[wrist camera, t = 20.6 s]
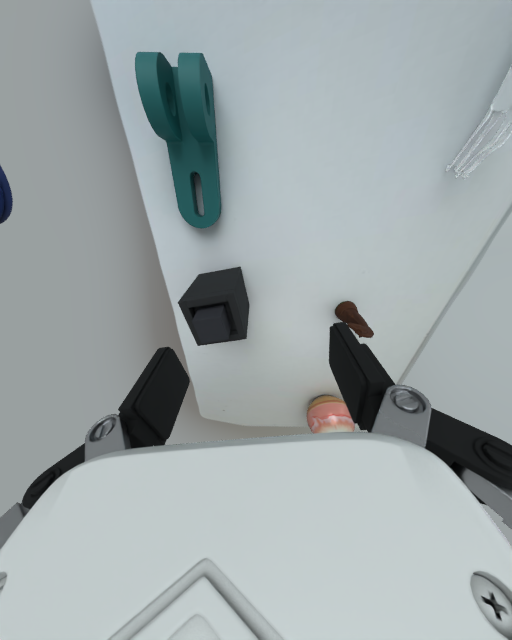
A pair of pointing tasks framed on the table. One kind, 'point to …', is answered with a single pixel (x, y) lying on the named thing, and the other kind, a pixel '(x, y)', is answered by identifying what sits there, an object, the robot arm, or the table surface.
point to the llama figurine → (506, 101)
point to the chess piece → (353, 319)
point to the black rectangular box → (218, 300)
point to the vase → (329, 415)
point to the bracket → (184, 127)
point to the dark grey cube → (212, 323)
